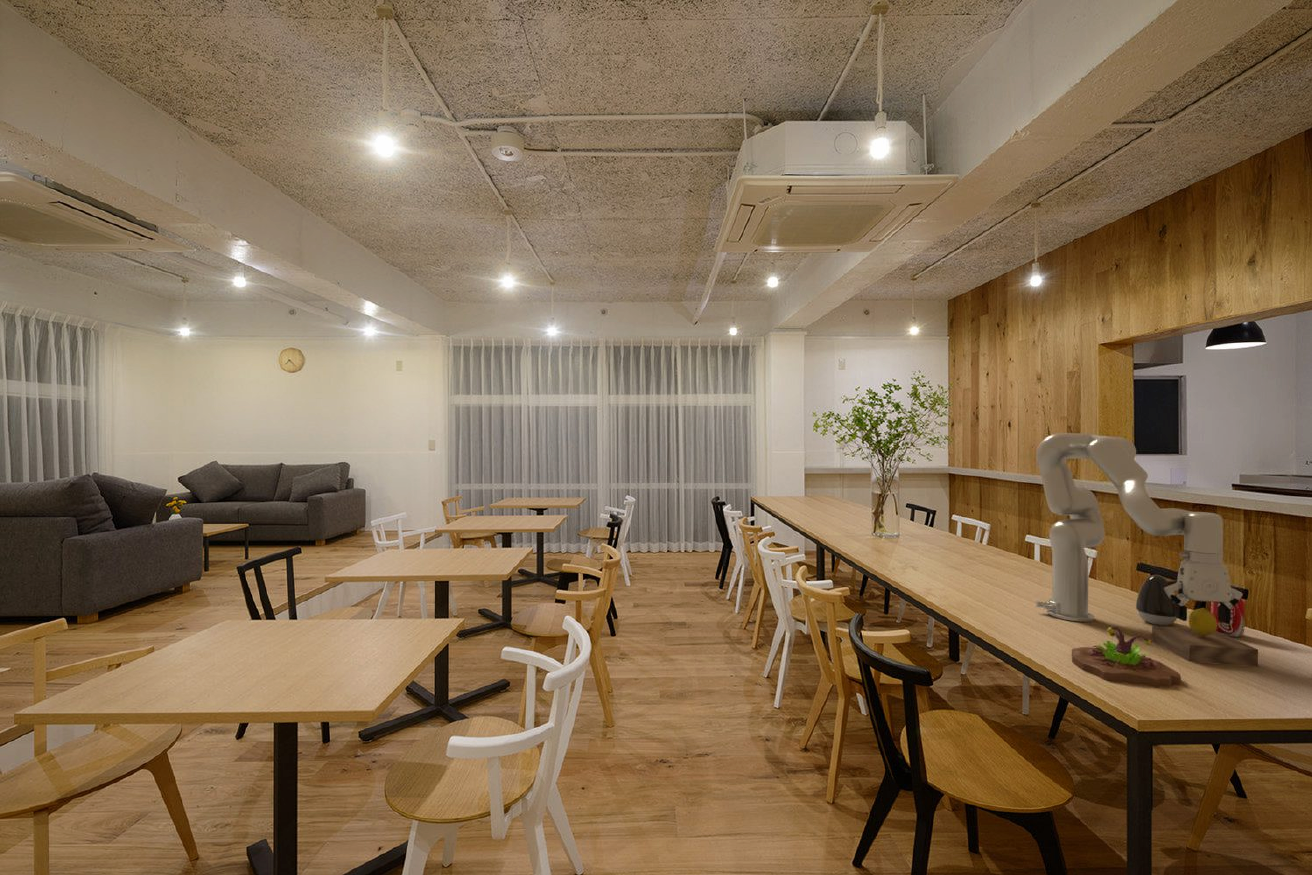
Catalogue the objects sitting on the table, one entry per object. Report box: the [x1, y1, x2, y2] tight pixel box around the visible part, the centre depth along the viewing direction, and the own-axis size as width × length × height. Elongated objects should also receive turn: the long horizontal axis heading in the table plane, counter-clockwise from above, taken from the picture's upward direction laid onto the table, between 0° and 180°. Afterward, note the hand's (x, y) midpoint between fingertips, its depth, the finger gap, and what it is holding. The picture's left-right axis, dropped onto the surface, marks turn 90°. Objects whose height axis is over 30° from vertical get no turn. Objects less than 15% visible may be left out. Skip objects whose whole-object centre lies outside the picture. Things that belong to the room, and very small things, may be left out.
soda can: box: [1210, 593, 1246, 638], centre depth 169 cm, size 7×7×12 cm
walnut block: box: [1151, 625, 1259, 668], centre depth 153 cm, size 15×15×5 cm
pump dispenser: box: [1135, 574, 1178, 627], centre depth 179 cm, size 10×10×15 cm
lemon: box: [1188, 607, 1217, 637], centre depth 153 cm, size 6×6×8 cm
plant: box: [1071, 626, 1182, 688], centre depth 142 cm, size 20×20×11 cm
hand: (1202, 620), depth 153 cm, fingers open, 9 cm apart
